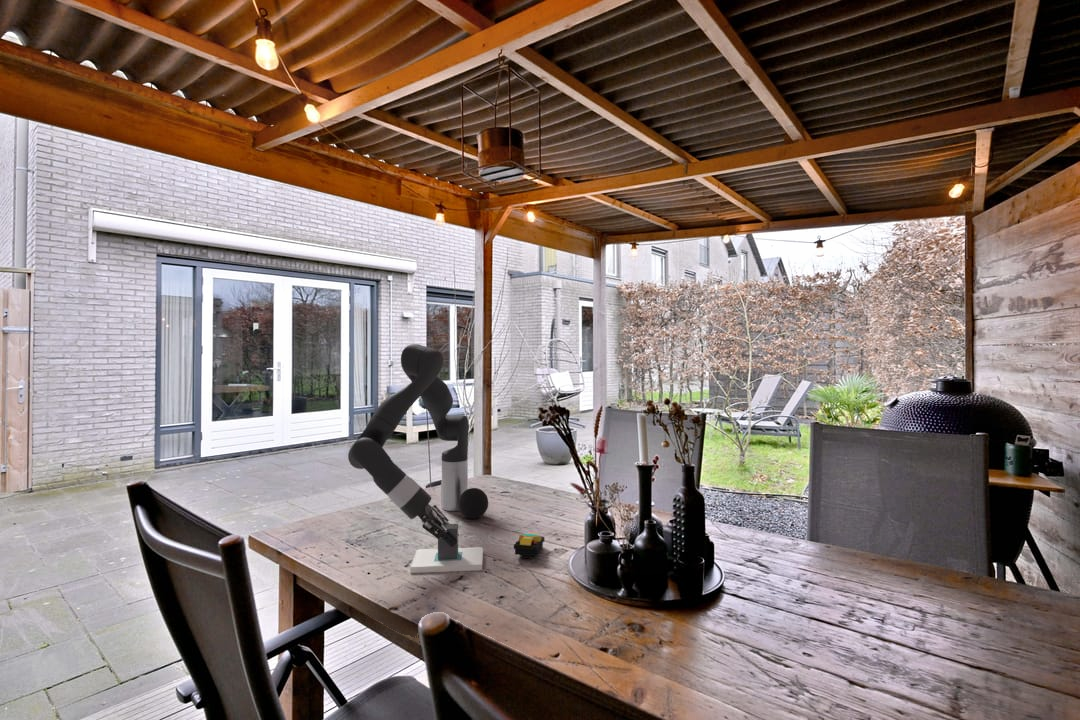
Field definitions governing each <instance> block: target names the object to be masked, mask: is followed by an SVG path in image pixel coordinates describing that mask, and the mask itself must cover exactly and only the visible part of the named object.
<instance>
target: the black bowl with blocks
mask: <svg viewBox="0 0 1080 720" xmlns="http://www.w3.org/2000/svg"><path fill="white" fill-rule="evenodd" d="M544 542H545V537H544V536H541V534H537V533H536V532H528V533H520V534H519V536H518V540H517V541H515V543H514V544H513V549H514V554H515V555H518V556H521V557H522V558H524V559H534V558H535V557H538V556H539V555H541V551H543V547H544V545H543V543H544Z"/></svg>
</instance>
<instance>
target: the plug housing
mask: <svg viewBox="0 0 1080 720" xmlns="http://www.w3.org/2000/svg"><path fill="white" fill-rule="evenodd" d="M443 526H444V527H445V528H446V529H447V530H448V531H449V532H450V533H451V534H452V535H453V536H454V537H455V538H456V539H457V540H458V541H457V543H456V544H455V545H454V546H453V547H451V546H450V545H449V544H448V543H447V542H446V541H445V540H444V539H443V538H439V539H437V549H438V560H439V559H457V555H458V548H459V536H458V534H459V523H449V524H443ZM438 532H440V530H438Z"/></svg>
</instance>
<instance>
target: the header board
mask: <svg viewBox="0 0 1080 720" xmlns="http://www.w3.org/2000/svg"><path fill="white" fill-rule="evenodd" d="M483 559H484V547H483V546H482V547H481V546H480V547H458V555H457V559H439V560H438V548H425V549H424V548H423V549H422V548H421V549H417V550H416V552H415V555H414V557H413V559H412V562H411V565H410V568H409V569H410V572H409V573H410V574H419V573H420V574H421V573H445V572H446V573H447V572H448V573H449V572H471V571H483V561H484V560H483Z"/></svg>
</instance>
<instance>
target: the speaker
mask: <svg viewBox="0 0 1080 720" xmlns="http://www.w3.org/2000/svg"><path fill="white" fill-rule="evenodd" d="M458 505H459V509H460V510H459V512H460V513H461V514H462V516H464V517H465V518H467V519H470V520H471V519H472V520H473V519H474V520H475V519H478V518H481V517H482V516H483V515H485V514H486V512H487V510H488V507H489V498H488V496H487V494H486V493H485V491H483V490H482V489H480V488H478V487H470V488H468V489H467V490H466V491H464V492H463V493H462V494H461V496H460V498H459V502H458Z"/></svg>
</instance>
